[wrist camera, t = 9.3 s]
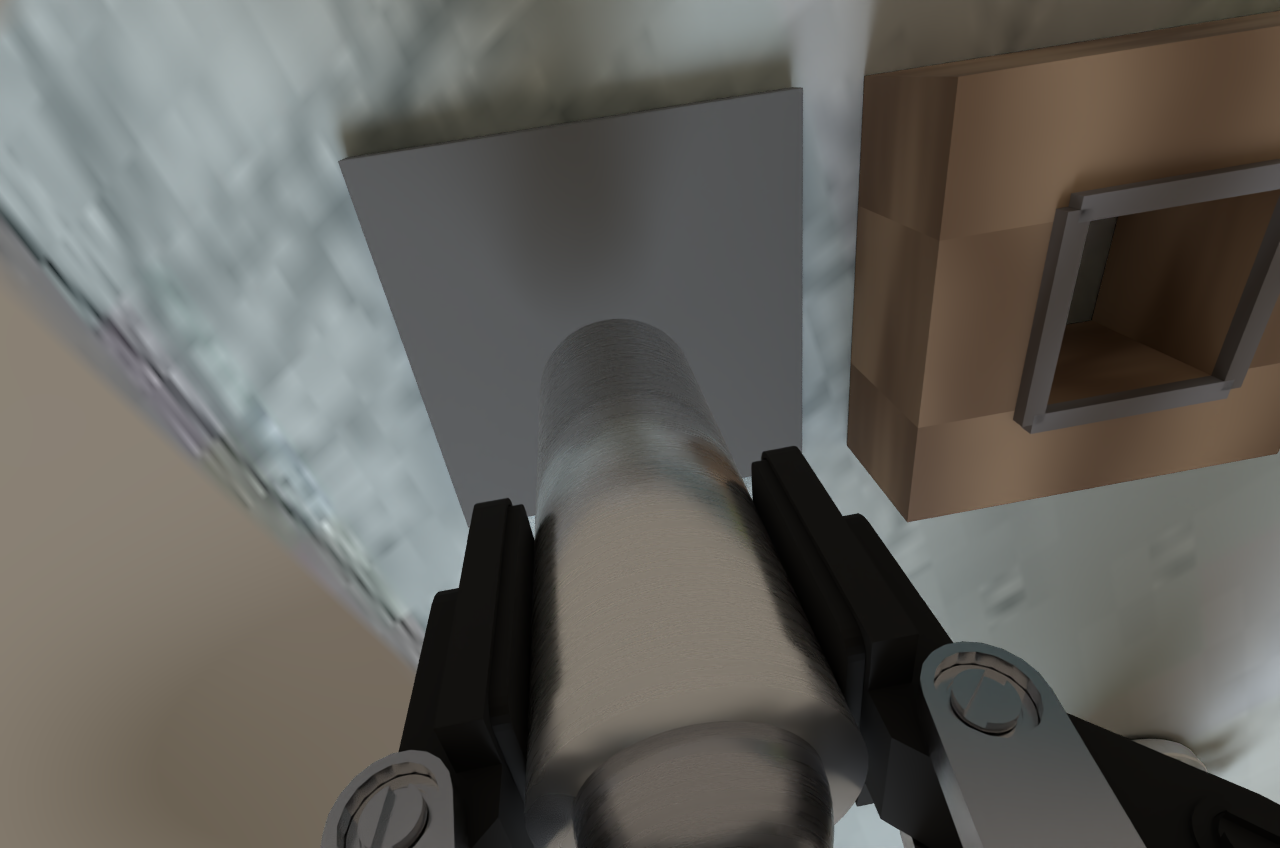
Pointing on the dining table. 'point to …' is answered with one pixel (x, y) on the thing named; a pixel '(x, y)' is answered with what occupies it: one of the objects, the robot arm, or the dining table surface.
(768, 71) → the dining table surface
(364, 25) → the dining table surface
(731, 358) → the mat
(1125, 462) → the block
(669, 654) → the steel peg
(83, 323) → the dining table surface
